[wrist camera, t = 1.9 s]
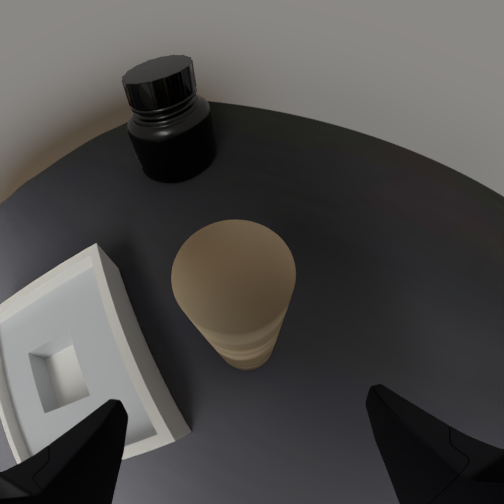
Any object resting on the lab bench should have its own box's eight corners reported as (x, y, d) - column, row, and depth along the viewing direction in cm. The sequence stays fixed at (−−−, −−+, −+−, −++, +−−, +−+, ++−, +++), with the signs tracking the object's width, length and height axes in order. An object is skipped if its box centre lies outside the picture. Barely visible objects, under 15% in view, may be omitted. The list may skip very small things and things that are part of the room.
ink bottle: (178, 128, 34) (161, 49, 23) (232, 145, 31) (225, 53, 21) (126, 173, 30) (91, 89, 19) (179, 199, 27) (148, 97, 17)
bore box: (191, 432, 17) (175, 441, 13) (55, 474, 13) (24, 479, 9) (118, 268, 23) (96, 242, 19) (11, 331, 20) (-17, 317, 16)
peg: (254, 380, 19) (252, 359, 7) (209, 351, 20) (147, 287, 9) (282, 336, 20) (317, 253, 9) (238, 310, 21) (218, 203, 10)
